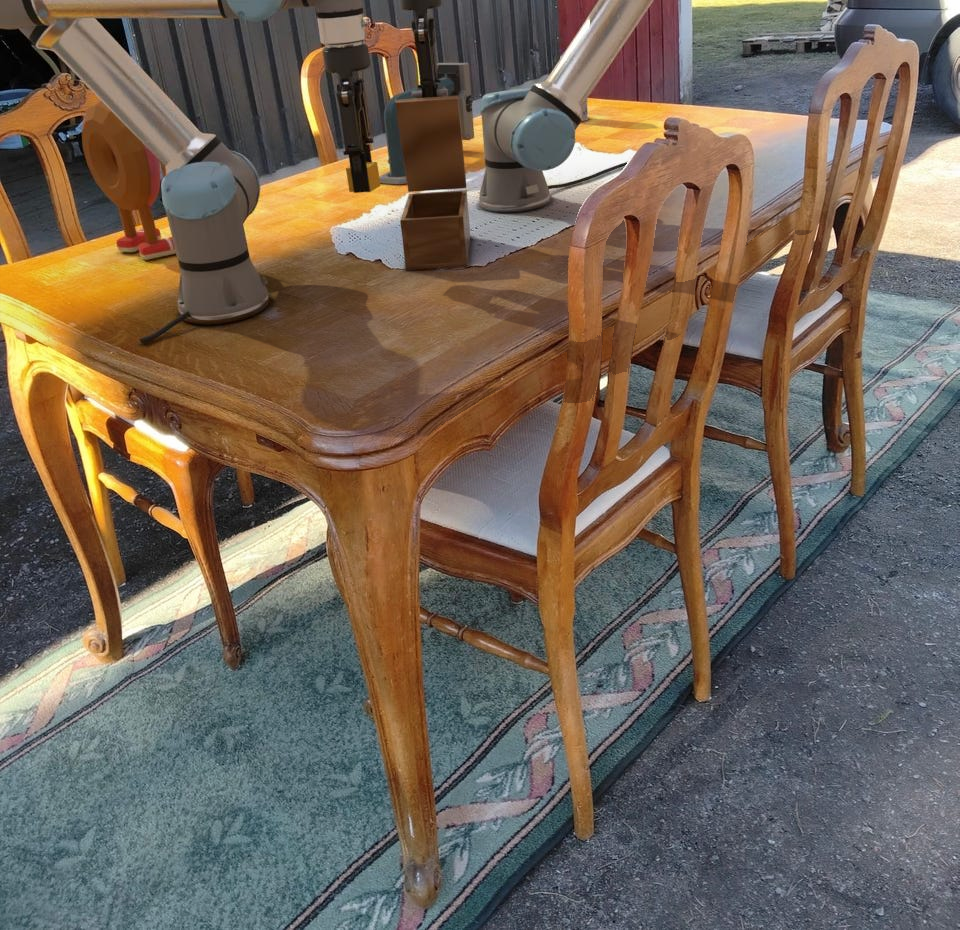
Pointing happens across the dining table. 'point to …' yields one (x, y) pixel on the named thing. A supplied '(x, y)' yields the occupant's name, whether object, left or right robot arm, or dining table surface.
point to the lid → (431, 141)
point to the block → (372, 176)
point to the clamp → (452, 79)
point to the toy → (125, 178)
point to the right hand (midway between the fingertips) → (433, 122)
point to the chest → (436, 230)
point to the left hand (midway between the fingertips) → (364, 187)
